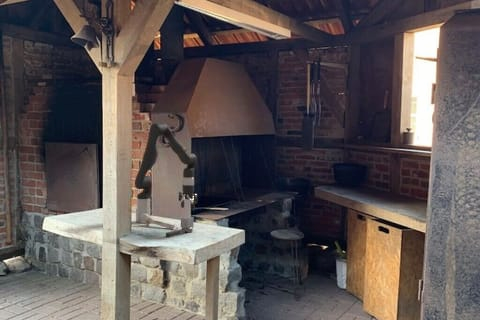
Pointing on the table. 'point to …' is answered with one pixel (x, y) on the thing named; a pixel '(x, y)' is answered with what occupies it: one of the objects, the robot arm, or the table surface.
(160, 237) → the table surface
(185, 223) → the socket
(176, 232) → the ratchet
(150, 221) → the wrench
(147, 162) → the robot arm
